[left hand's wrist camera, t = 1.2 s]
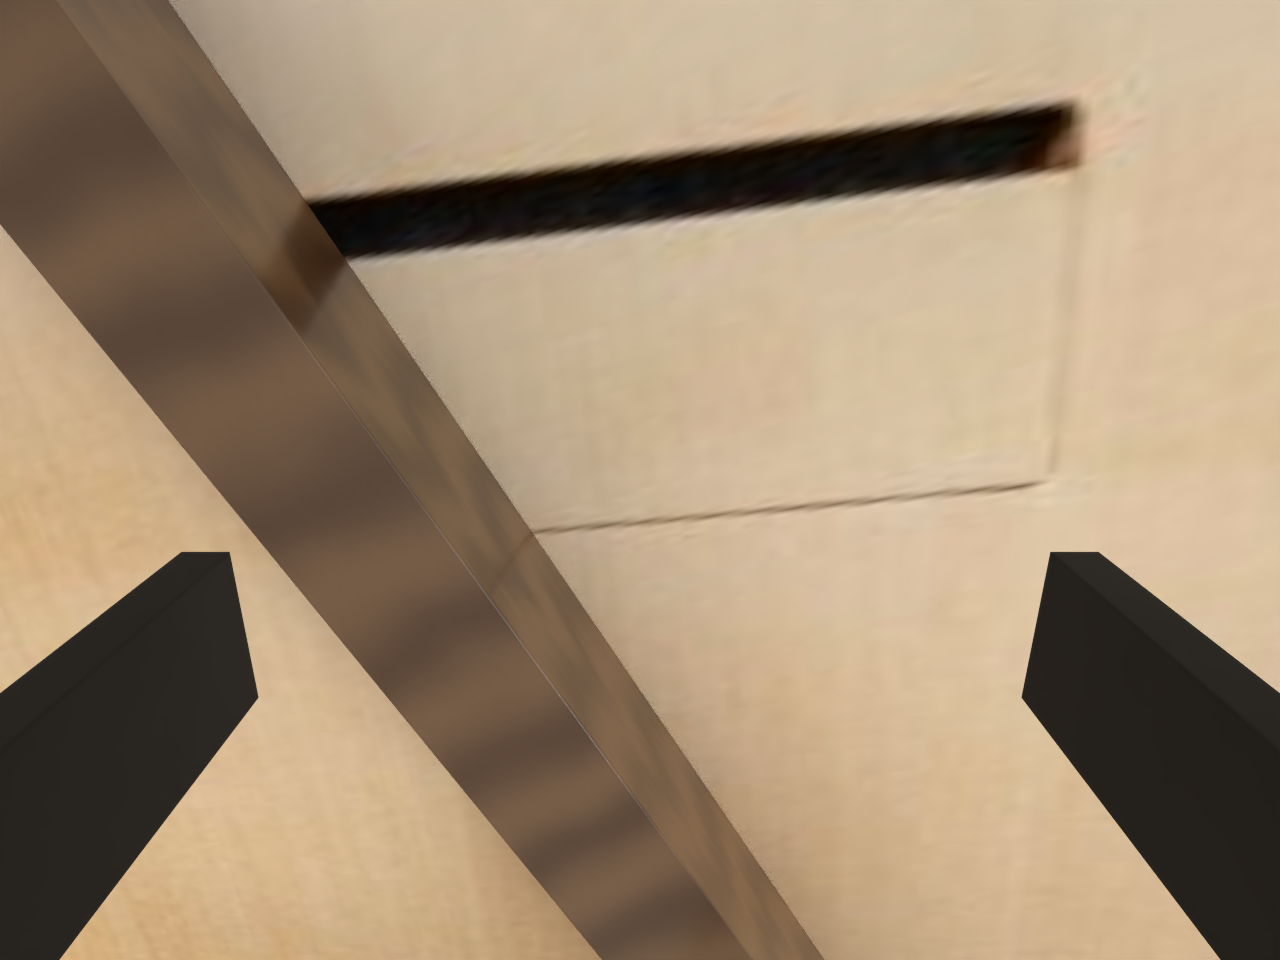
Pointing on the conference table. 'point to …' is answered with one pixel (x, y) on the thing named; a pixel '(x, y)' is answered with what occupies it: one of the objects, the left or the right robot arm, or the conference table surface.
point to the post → (356, 473)
